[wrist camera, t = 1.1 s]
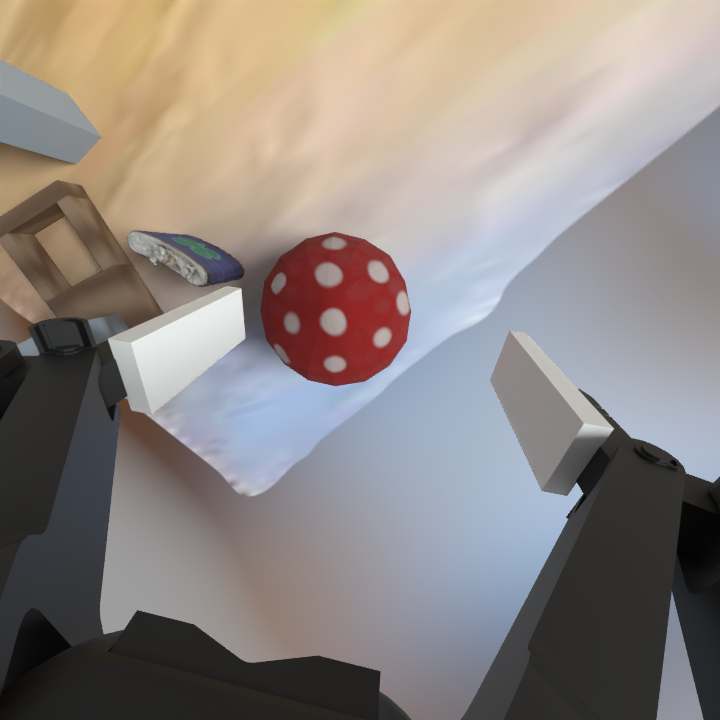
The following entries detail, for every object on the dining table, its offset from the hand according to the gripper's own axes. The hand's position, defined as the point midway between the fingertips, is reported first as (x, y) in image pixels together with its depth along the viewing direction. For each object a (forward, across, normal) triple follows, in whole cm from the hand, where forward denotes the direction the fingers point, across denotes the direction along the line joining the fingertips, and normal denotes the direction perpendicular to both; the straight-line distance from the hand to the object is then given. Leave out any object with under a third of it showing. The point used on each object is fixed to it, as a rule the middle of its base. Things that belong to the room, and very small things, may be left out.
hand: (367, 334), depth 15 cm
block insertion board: (+22, -39, -10) cm, 46 cm away
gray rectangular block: (+25, -40, +9) cm, 48 cm away
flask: (+24, -24, -3) cm, 34 cm away
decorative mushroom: (+25, -5, -6) cm, 27 cm away
